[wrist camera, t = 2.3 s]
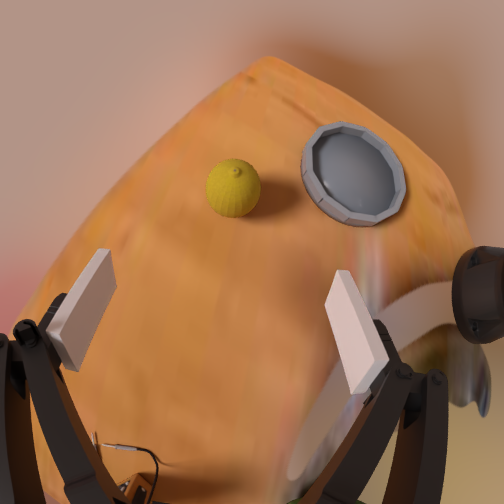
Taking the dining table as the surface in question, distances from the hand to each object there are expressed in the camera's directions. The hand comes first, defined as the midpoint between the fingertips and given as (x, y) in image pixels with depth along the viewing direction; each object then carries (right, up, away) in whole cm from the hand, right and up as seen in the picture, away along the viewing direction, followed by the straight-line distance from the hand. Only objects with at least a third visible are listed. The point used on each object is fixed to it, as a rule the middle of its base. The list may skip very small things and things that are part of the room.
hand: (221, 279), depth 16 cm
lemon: (-1, +7, +17) cm, 18 cm away
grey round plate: (+15, +11, +19) cm, 27 cm away
